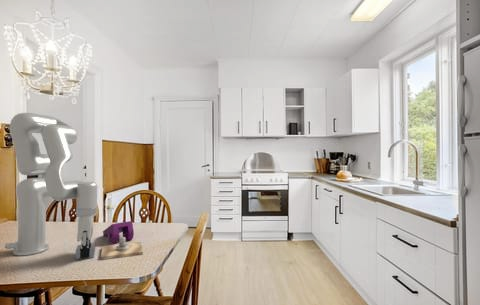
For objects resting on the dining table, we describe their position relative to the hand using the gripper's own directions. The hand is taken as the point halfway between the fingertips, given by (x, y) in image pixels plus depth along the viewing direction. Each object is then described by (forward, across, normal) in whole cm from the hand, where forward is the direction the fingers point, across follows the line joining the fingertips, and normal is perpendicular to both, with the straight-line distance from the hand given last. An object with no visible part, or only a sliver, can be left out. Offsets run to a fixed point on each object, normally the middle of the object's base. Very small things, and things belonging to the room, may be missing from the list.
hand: (85, 254), depth 111 cm
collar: (+1, 0, 0) cm, 1 cm away
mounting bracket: (+1, -21, +12) cm, 24 cm away
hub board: (+1, 0, +14) cm, 14 cm away
